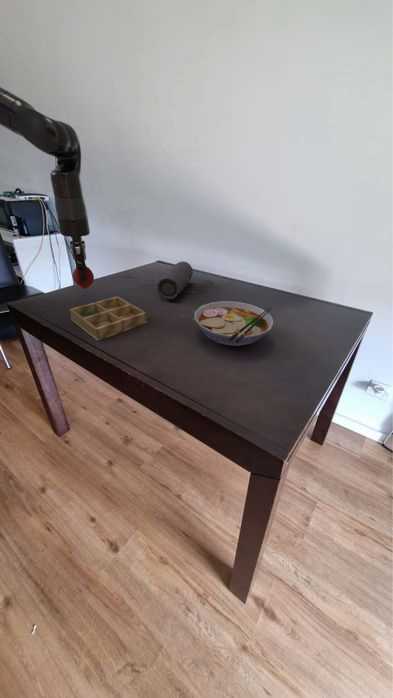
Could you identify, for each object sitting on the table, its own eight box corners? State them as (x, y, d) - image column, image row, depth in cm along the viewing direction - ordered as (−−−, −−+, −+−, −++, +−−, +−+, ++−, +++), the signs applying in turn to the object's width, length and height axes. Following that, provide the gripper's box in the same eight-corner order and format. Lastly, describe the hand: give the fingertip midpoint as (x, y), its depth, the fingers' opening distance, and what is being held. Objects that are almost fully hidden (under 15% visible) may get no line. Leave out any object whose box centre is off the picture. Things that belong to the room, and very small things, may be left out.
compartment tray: (97, 341, 82) (95, 329, 80) (71, 320, 92) (69, 309, 90) (147, 323, 92) (146, 312, 90) (118, 306, 102) (117, 296, 100)
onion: (93, 284, 90) (89, 258, 85) (97, 290, 85) (93, 264, 81) (74, 286, 87) (69, 260, 83) (76, 293, 83) (71, 266, 79)
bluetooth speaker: (180, 304, 106) (180, 278, 100) (156, 301, 107) (155, 275, 102) (193, 284, 125) (194, 261, 119) (173, 281, 126) (173, 258, 121)
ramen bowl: (219, 314, 100) (221, 292, 96) (281, 334, 89) (287, 310, 85) (175, 343, 82) (175, 317, 78) (245, 372, 72) (250, 345, 67)
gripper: (58, 212, 80) (69, 271, 89) (56, 220, 69) (69, 286, 78) (86, 211, 82) (95, 269, 91) (88, 220, 71) (98, 284, 80)
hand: (83, 277), depth 84 cm, fingers closed on onion, 6 cm apart
